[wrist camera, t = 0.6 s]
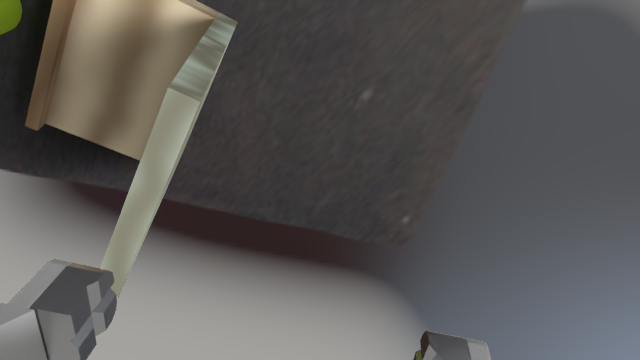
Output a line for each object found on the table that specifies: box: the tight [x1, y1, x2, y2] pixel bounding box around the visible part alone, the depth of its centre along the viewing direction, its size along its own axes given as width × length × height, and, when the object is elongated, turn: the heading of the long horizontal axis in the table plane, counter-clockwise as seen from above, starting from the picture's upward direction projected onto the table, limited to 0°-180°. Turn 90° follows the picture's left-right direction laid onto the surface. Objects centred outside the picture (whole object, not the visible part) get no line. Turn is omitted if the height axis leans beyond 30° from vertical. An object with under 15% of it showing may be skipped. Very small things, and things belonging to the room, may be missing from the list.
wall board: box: [25, 0, 238, 297], centre depth 39 cm, size 15×18×22 cm
